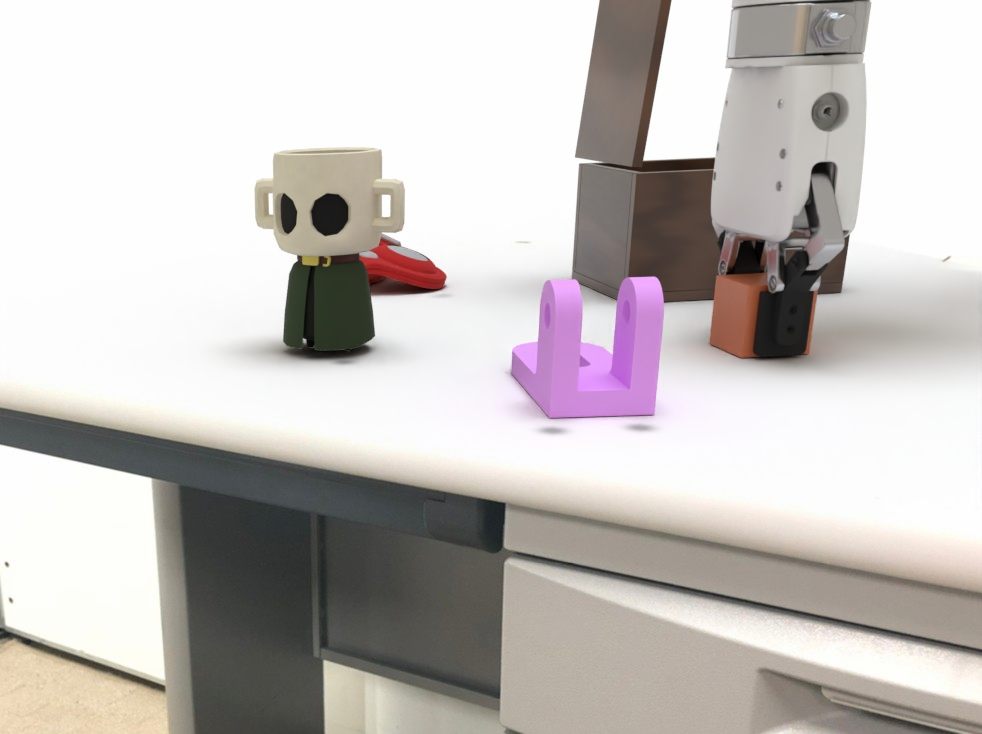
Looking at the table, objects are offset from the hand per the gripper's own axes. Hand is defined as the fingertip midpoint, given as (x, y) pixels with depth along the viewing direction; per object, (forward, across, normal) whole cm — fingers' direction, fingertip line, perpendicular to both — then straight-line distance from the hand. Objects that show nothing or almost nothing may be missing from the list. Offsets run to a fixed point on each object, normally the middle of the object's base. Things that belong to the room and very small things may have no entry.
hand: (758, 343), depth 77 cm
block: (0, 0, 0) cm, 0 cm away
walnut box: (0, +24, -7) cm, 25 cm away
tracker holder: (+1, +33, +17) cm, 37 cm away
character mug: (+1, +7, +27) cm, 28 cm away
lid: (-19, +24, 0) cm, 31 cm away
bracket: (+1, -7, +15) cm, 16 cm away
